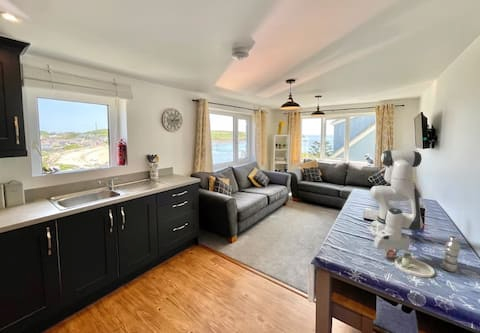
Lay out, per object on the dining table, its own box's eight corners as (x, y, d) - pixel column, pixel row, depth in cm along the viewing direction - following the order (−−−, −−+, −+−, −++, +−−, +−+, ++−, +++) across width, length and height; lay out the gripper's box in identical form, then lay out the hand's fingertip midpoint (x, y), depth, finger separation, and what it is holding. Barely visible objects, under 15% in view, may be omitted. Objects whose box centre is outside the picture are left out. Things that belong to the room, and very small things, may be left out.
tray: (387, 260, 138) (388, 256, 138) (417, 260, 138) (417, 257, 138) (409, 278, 120) (409, 275, 120) (442, 279, 120) (443, 275, 120)
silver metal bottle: (456, 269, 129) (461, 237, 126) (457, 275, 124) (462, 241, 121) (441, 265, 133) (446, 233, 130) (441, 270, 128) (446, 237, 125)
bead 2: (402, 260, 136) (402, 253, 135) (407, 260, 136) (408, 253, 135) (406, 264, 132) (407, 256, 132) (412, 264, 132) (413, 256, 132)
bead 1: (385, 256, 142) (386, 249, 142) (391, 256, 142) (391, 249, 142) (389, 259, 139) (389, 252, 138) (394, 259, 139) (395, 252, 138)
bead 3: (399, 265, 131) (400, 257, 130) (406, 265, 131) (406, 257, 130) (404, 269, 127) (405, 261, 127) (410, 269, 127) (411, 261, 127)
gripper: (405, 232, 141) (403, 252, 143) (373, 232, 142) (371, 252, 144) (413, 237, 135) (410, 258, 137) (379, 236, 135) (377, 257, 137)
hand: (390, 255), depth 140 cm, fingers closed on bead 1, 4 cm apart
